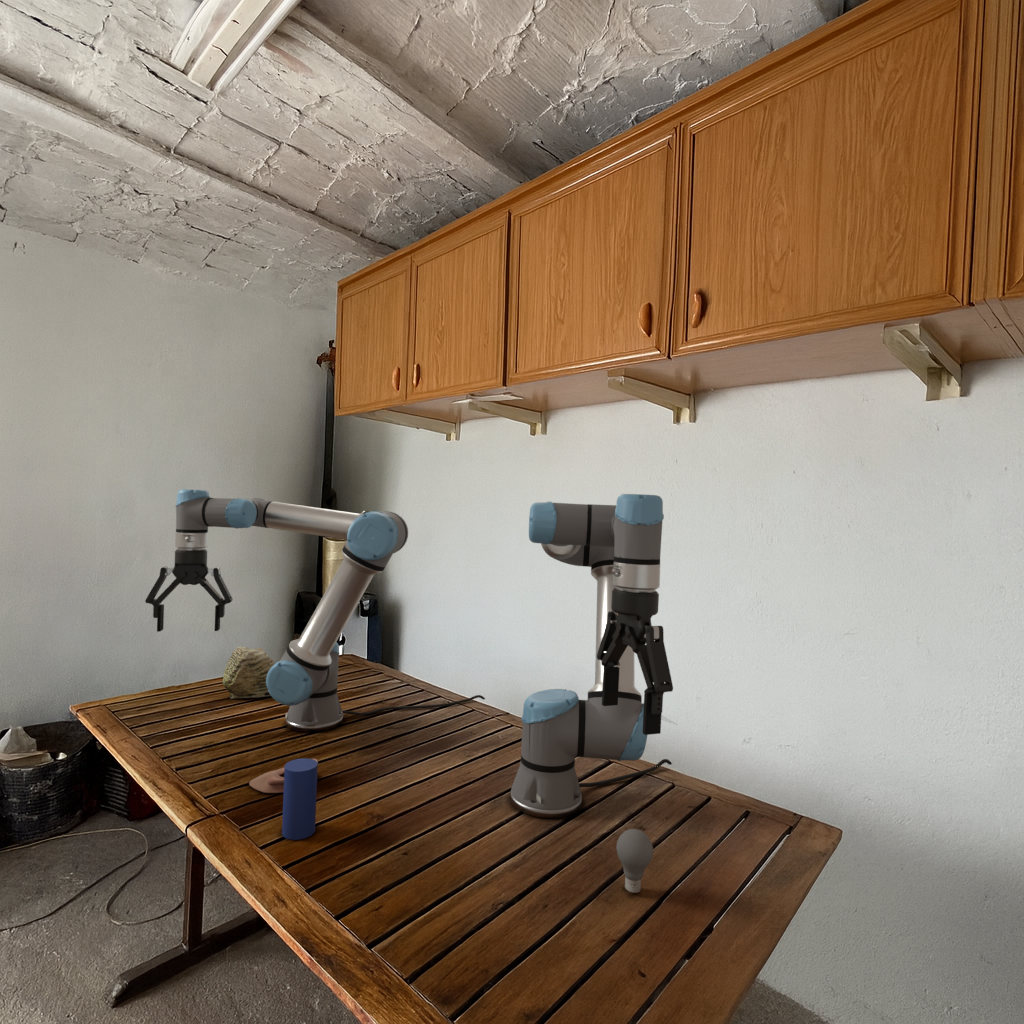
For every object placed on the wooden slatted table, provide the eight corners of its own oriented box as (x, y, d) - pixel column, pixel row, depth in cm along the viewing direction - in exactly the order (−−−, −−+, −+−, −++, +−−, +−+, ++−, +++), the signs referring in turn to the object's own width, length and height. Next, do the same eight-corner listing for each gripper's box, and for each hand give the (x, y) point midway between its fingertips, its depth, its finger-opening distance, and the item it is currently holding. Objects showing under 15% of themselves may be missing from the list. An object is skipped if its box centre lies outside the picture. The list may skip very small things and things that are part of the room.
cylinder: (278, 828, 120) (280, 762, 120) (309, 820, 124) (311, 755, 124) (287, 843, 116) (290, 774, 115) (319, 834, 119) (322, 766, 119)
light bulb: (610, 879, 108) (613, 822, 108) (644, 879, 109) (647, 822, 109) (619, 902, 102) (622, 840, 102) (655, 901, 103) (658, 840, 103)
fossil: (218, 695, 195) (220, 647, 195) (278, 685, 208) (279, 640, 207) (228, 703, 189) (230, 653, 188) (289, 692, 201) (290, 645, 201)
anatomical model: (241, 770, 135) (272, 750, 146) (240, 789, 135) (271, 767, 146) (297, 779, 132) (324, 757, 144) (297, 798, 132) (324, 775, 144)
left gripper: (132, 549, 158) (130, 633, 158) (240, 550, 164) (237, 632, 164) (142, 546, 165) (140, 627, 165) (245, 548, 171) (242, 626, 171)
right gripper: (581, 578, 114) (576, 696, 114) (656, 601, 90) (649, 749, 90) (618, 578, 116) (613, 693, 116) (701, 601, 92) (694, 745, 93)
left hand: (188, 630), depth 165 cm, fingers open, 13 cm apart
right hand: (629, 718), depth 103 cm, fingers open, 13 cm apart
